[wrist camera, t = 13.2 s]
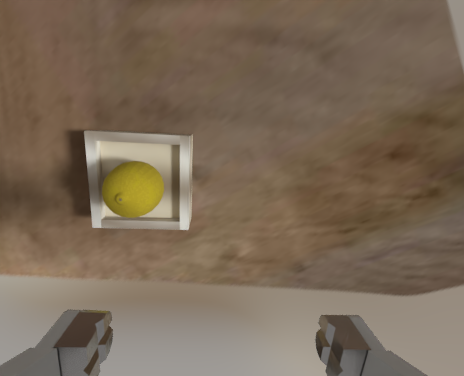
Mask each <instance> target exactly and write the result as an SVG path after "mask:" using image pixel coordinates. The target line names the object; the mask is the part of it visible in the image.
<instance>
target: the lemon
mask: <svg viewBox="0 0 464 376" xmlns="http://www.w3.org/2000/svg"><path fill="white" fill-rule="evenodd" d="M163 193H164V182H163V179H162V176H161V175H160V173H159V172H158V171H157V170H156V169H155V168H154V167H153V166H151V165H150V164H148V163H145V162H141V161H130V162H125V163H123V164H120V165H118V166H117V167H115V168H114V169H113V170H112V171H110V173H109V174H108V175H107V177H106V178H105V180H104V183H103V186H102V196H103V200H104V202H105V204H106V206H107V207H108V208H109V209H110V210H111V211H112V212H113V213H115V214H117V215H119V216H121V217H126V218H136V217H140V216H143V215H145V214H147V213H149V212H151V211H152V210H153V209H154V208H155V207H156V206H157V205H158V204H159V203H160V201H161V199H162V197H163Z"/></svg>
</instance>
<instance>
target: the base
mask: <svg viewBox="0 0 464 376" xmlns="http://www.w3.org/2000/svg"><path fill="white" fill-rule="evenodd" d="M84 138H85V149H86V160H87V171H88V182H89V193H90V204H91V215H92V226H93V228H128V229H171V230H188V229H189V225H190V221H191V218H192V157H193V135H184V134H165V133H146V132H127V131H108V130H88V131H84ZM130 161H141V162H145V163H148V164H150V165H151V166H153V167H154V168H155V169H156V170H157V171H158V172H159V173H160V175H161V176H162V179H163V182H164V193H163V197H162V199H161V201H160V203H159V204H158V205H157V206H156V207H155V208H154V209H153V210H152V211H151V212H149V213H147V214H145V215H143V216H140V217H136V218H126V217H121V216H119V215H117V214H115V213H113V212H112V211H111V210H110V209H109V208H108V207H107V206H106V204H105V202H104V200H103V196H102V186H103V183H104V180H105V178H106V177H107V175H108V174H109V173H110V171H112V170H113V169H114V168H115V167H117V166H118V165H120V164H123V163H125V162H130Z"/></svg>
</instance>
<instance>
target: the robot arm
mask: <svg viewBox="0 0 464 376" xmlns="http://www.w3.org/2000/svg"><path fill="white" fill-rule="evenodd" d="M111 321H112V314H111V312H110V311H98V310H67V311H65V312H64V313H63V314H62V315H61V317H60V318H59V319H58V320H57V321H56V323H55V324H54V325H53V326H52V327H51V329H50V330H49V331H48V332H47V334H46V335H45V336H44V337H43V338H42V340H41V341H40V342H39V343H38V344H37V346H36V347H35V348H29V349H27V350H26V351H24V352H23V353H21V354H19V355H17V356H16V357H14V358H12V359H11V360H9V361H7V362H5V363H4V364H2V365H1V366H0V376H98V375H99V373H100V364H101V363H102V362H103V361H104V360H105V359H106V358H107V356H108V354H109V351H110V348H111V344H112V339H113V338H112V337H113V329H111V327H110V326H109V324H110V323H111ZM319 325H320V327H321V329H320V330H319V331H318V332H317V333H316V349H317V353H318V355H319V358H320V360H321V361H322V362H323V363H324V364H325V365H327V367H326V374H327V376H427V375H426V374H424V373H423V372H421V371H420V370H418V369H417V368H415V367H414V366H412V365H411V364H409V363H408V362H406V361H405V360H403V359H402V358H400V357H399V356H397V355H396V354H394V353H393V352H391V351H386V350H385V348H384V347H383V346H382V344H381V343H380V342H379V340H378V339H377V338H376V336H375V335H374V334H373V332H372V331H371V330H370V328H369V327H368V326H367V324H366V323H365V322H364V320H363V319H362V318H361V317H360V316H358V315H321V317H320V318H319Z"/></svg>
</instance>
